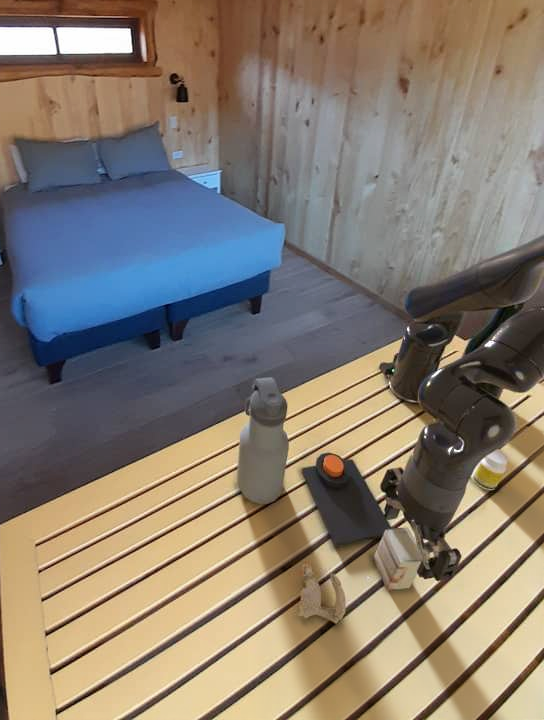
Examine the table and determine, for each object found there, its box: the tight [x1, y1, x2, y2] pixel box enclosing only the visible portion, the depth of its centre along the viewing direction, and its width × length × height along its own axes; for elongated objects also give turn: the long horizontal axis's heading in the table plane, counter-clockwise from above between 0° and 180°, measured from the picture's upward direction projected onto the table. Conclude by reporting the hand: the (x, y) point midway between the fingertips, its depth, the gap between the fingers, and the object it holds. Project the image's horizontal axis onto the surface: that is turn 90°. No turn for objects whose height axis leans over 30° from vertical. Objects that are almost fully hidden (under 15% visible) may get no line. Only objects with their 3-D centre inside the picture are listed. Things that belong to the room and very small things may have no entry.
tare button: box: [323, 455, 344, 478], centre depth 86 cm, size 4×4×2 cm
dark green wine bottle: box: [460, 301, 526, 400], centre depth 99 cm, size 10×10×33 cm
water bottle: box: [236, 377, 290, 505], centre depth 81 cm, size 10×10×28 cm
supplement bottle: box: [470, 448, 509, 491], centre depth 85 cm, size 5×5×8 cm
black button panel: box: [301, 452, 393, 548], centre depth 83 cm, size 16×12×3 cm
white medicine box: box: [373, 526, 423, 591], centre depth 70 cm, size 5×4×10 cm
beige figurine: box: [297, 563, 347, 624], centre depth 67 cm, size 9×6×10 cm
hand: (405, 544), depth 67 cm, fingers open, 8 cm apart
